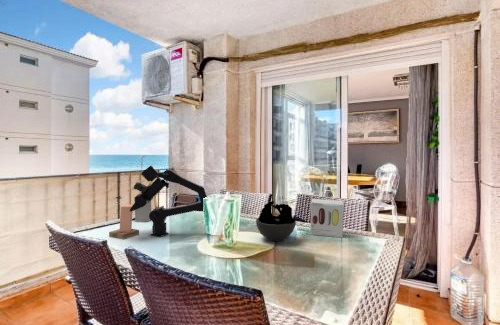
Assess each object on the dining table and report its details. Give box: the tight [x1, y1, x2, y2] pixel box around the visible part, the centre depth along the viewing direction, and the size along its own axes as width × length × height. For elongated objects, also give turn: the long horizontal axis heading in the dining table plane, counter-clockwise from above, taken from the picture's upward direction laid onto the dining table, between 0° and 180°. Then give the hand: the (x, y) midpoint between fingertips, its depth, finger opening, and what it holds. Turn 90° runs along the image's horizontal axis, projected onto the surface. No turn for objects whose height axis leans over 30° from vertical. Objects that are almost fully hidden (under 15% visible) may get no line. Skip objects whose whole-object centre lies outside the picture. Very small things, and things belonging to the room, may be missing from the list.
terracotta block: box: [119, 204, 133, 232], centre depth 144 cm, size 5×5×13 cm
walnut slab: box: [108, 228, 140, 240], centre depth 145 cm, size 10×10×3 cm
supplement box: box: [309, 198, 345, 238], centre depth 157 cm, size 17×13×18 cm
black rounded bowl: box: [255, 200, 297, 242], centre depth 142 cm, size 20×20×19 cm
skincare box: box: [133, 196, 152, 223], centre depth 177 cm, size 8×7×16 cm
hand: (132, 209), depth 145 cm, fingers open, 9 cm apart
